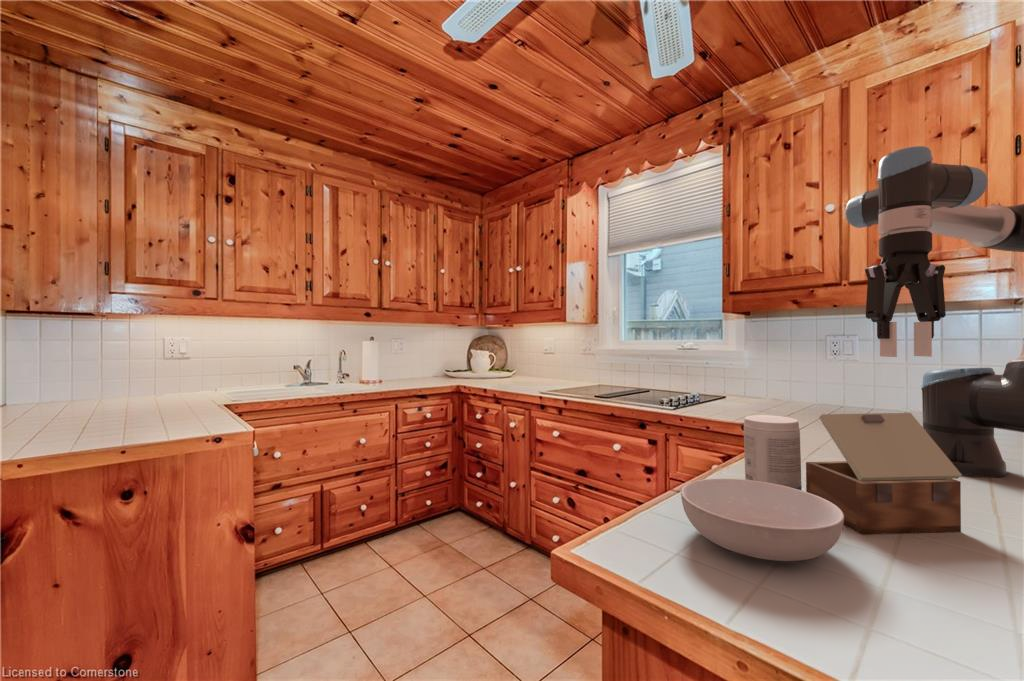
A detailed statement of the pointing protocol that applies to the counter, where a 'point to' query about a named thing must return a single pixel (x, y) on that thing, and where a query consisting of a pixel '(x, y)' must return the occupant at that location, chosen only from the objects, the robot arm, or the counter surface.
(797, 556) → the serving bowl
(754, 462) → the supplement tub
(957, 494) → the keepsake box
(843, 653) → the counter surface
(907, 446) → the lid
